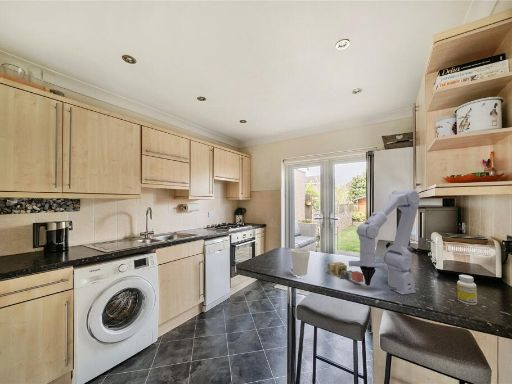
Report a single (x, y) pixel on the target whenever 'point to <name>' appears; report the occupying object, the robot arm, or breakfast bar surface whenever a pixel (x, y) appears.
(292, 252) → the foam cup
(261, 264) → the breakfast bar surface
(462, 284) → the supplement bottle
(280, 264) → the breakfast bar surface
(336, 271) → the tan lumpy piece
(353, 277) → the orange grey block
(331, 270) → the bearing stand
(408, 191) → the robot arm
